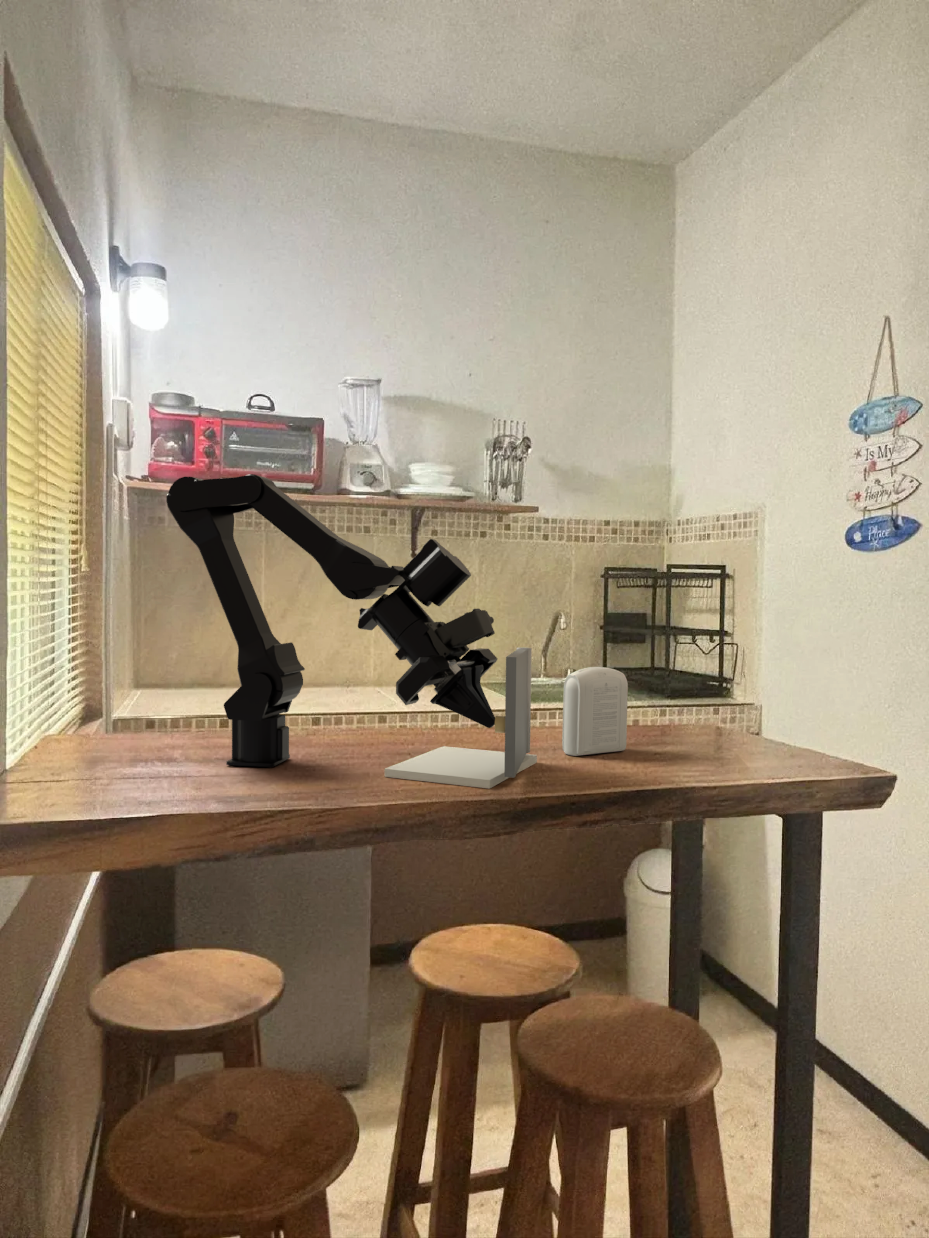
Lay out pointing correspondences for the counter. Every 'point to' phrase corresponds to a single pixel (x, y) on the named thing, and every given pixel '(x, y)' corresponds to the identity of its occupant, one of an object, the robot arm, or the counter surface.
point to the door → (516, 710)
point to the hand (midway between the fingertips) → (493, 725)
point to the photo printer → (594, 711)
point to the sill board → (457, 767)
